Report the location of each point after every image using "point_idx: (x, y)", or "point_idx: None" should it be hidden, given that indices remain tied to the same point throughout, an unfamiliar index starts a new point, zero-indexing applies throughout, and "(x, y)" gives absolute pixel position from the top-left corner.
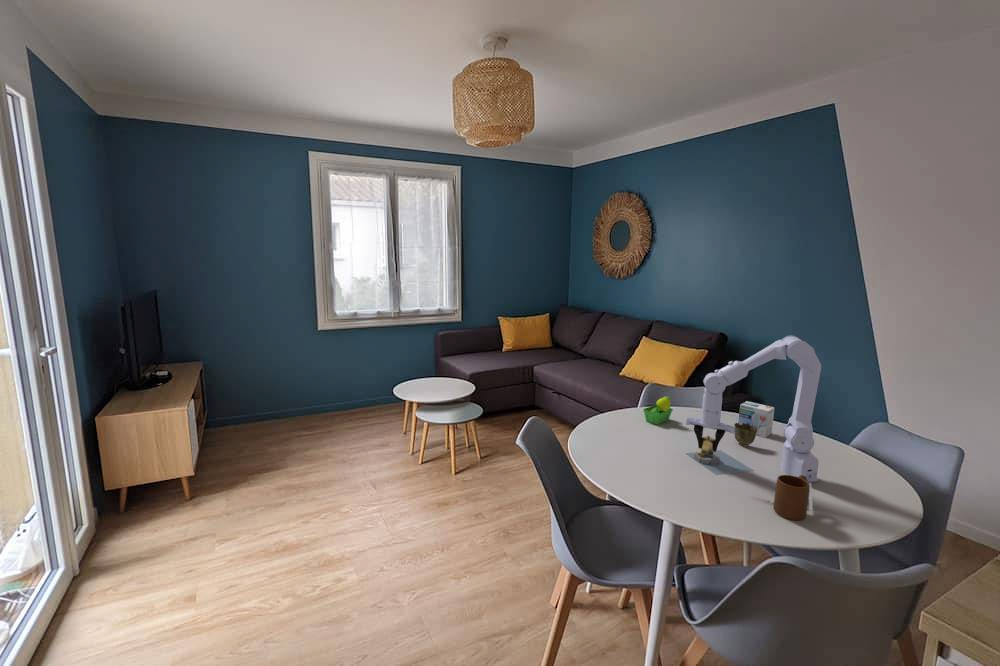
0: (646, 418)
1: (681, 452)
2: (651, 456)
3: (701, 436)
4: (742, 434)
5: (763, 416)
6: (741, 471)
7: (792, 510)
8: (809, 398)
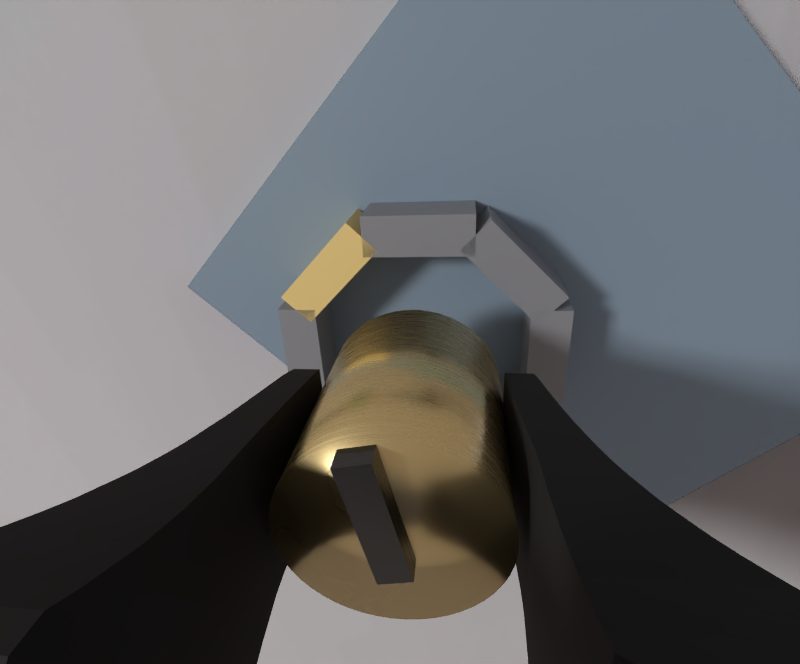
0: None
1: (131, 191)
2: (18, 432)
3: (251, 576)
4: None
5: None
6: (794, 423)
7: None
8: None
